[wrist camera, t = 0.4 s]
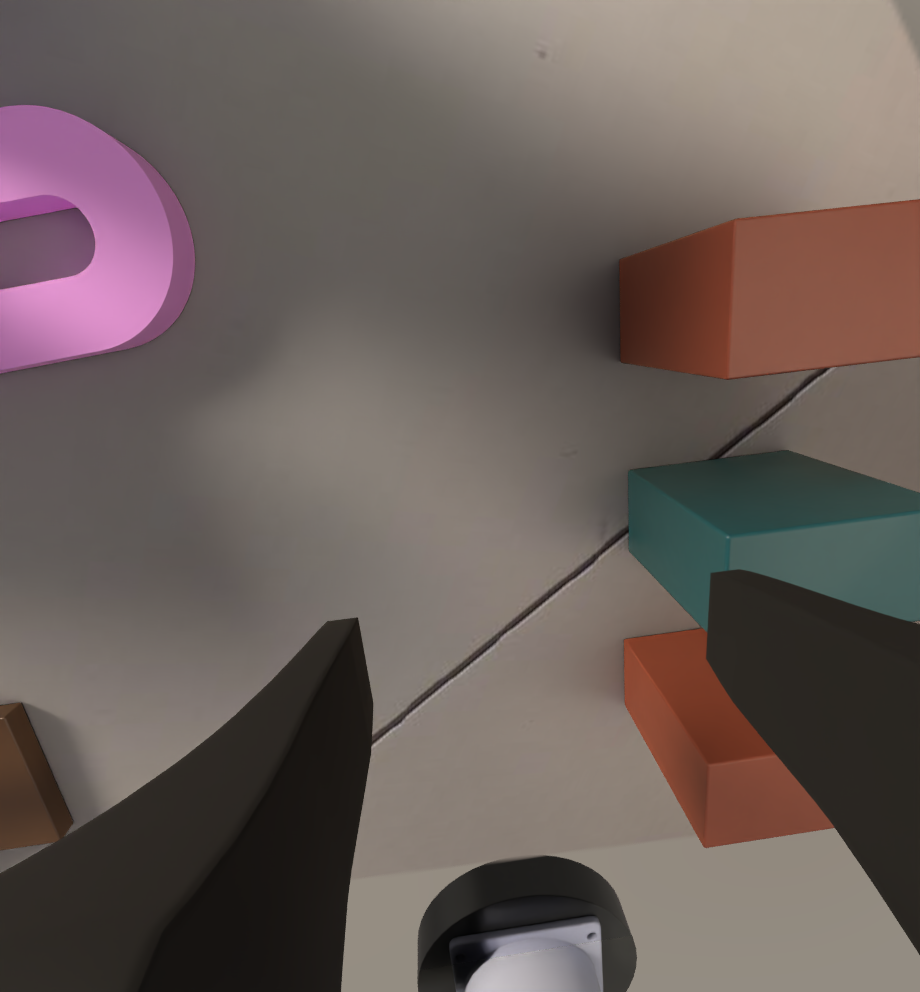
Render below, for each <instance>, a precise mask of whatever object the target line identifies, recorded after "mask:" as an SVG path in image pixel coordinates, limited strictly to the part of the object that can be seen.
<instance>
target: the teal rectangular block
mask: <svg viewBox="0 0 920 992" xmlns="http://www.w3.org/2000/svg"><path fill="white" fill-rule="evenodd" d="M628 506H629V552H630V553H631V554H632V555H633V556H634V557H635V558H636V559H637V560H638V561H639V562H640V563H641V564H642V565H643V566H644V567H645V568H646V569H647V570H648V572H649V573H650V574H651V575H652V576H653V577H654V578H655V579H656V580H657V581H658V582H659V583H660V584H661V585H662V586H663V587H664V588H665V589H666V590H667V591H668V592H669V593H670V595H671V596H672V597H673V598H674V599H675V600H676V601H677V602H678V603H679V604H680V605H681V606H682V607H683V608H684V609H685V610H686V611H687V612H688V613H689V614H690V615H691V616H692V618H693V619H694V620H695V621H696V622H697V623H698V624H699V625H700V626H701V627H702V628H703V629H704V630H705V631H706V632H707V630H708V611H709V592H710V573H713V572H721V571H729V570H737V569H741V570H746V571H751V572H755V573H758V574H762V575H765V576H769V577H772V578H775V579H778V580H782V581H785V582H788V583H791V584H794V585H797V586H800V587H803V588H806V589H809V590H812V591H815V592H818V593H821V594H824V595H827V596H830V597H833V598H836V599H839V600H842V601H845V602H848V603H851V604H854V605H857V606H860V607H863V608H866V609H869V610H873V611H876V612H879V613H882V614H885V615H889V616H892V617H895V618H899V619H902V620H906V621H909V622H914V621H920V493H919V492H915V491H912V490H909V489H906V488H903V487H900V486H897V485H894V484H891V483H888V482H885V481H882V480H878V479H875V478H872V477H869V476H866V475H863V474H860V473H857V472H854V471H851V470H848V469H845V468H841V467H838V466H835V465H832V464H829V463H826V462H823V461H820V460H817V459H814V458H811V457H808V456H804V455H801V454H798V453H795V452H792V451H789V450H786V451H778V452H770V453H762V454H754V455H746V456H738V457H730V458H722V459H714V460H706V461H698V462H690V463H682V464H674V465H666V466H658V467H650V468H642V469H634V470H630V471H629V472H628Z"/></svg>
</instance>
